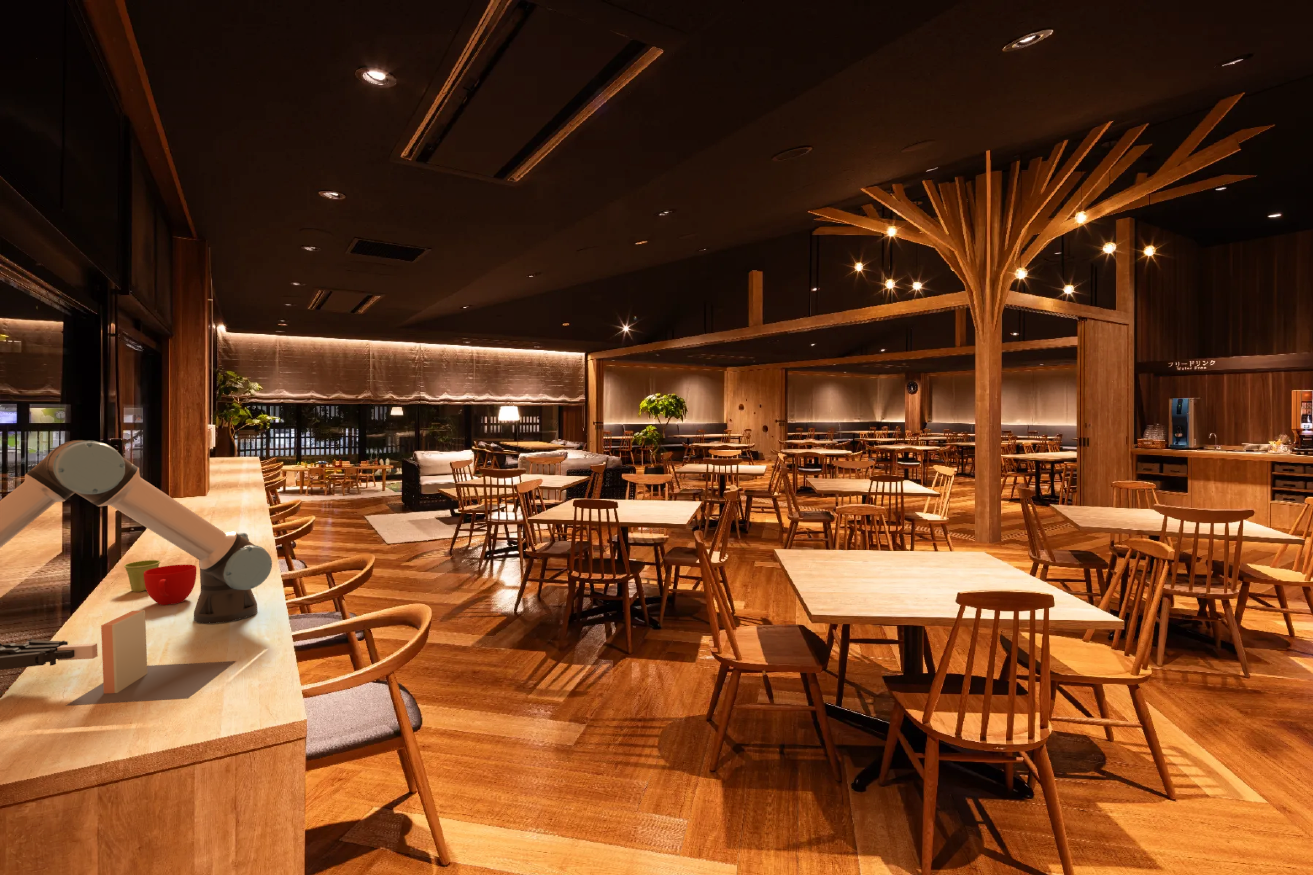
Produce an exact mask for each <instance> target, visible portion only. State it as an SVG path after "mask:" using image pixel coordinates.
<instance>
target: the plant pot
mask: <svg viewBox="0 0 1313 875" xmlns="http://www.w3.org/2000/svg"><path fill="white" fill-rule="evenodd" d="M160 563H161V560H158V559H149V560H137V561H132V562H129V563H125V564H124V565H123V567H124V568H125V570H126V573H127V577H128V580H129V585H130V589H131V591H132V592H134V593H141V592H143V591H147V590H146V587H145V582H144V572H145V571H147V570H149V569H153V568H157V567H160Z"/></svg>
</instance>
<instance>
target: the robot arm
mask: <svg viewBox="0 0 1313 875" xmlns="http://www.w3.org/2000/svg"><path fill="white" fill-rule="evenodd" d="M140 474H141V473H140V467H139V466H137V465H135V464H133V463H132V462H131V461H129V460H128V459H127V458H124V457H123V456H122V455H121V453H119V452H118V450H117V449H115V448H114V447H112V446H111V445H109V444H107V443H104V442H100V441H96V440H83V439H76V440H71V441H66V442H64V443H61V444H60V445H57V447H55V448H54V449H52V451H50V452H49V453H48V454H47V455H46V456H45V457H44V458H43V459H42V460H41V461H40V462H39V463H37V465H35V466H34V467H33V468H32V469H30V470H29V471H28V472H27V473H26V474H25V475H24V481H23V482H22V483H21V484H20V485H18V486H17V487H15V488H14V490H12V491H10V492H9V493H8V494H7V495H6V496H4V497H3V498H2V499H0V549H1V548H3V546H5V545H6V544H7V543H8V542H10V541H11V540H12V539H13V538H15V536H17V535H18V534H19V533H20V532H22V531H23V530H24V529H25V528H27V527H28V526H29V525H30V524H31V523H33V522H34V521H35V520H36V519H38V517H40V516H41V515H42V514H44V513H45V512H46V511H47V510H48V509H49V508H51V507H52V506H53V505H54V504H56V503H58V502H65V501H67V500H68V499H69V498H70V497H71V496H73V495H74V494H76V495H78V496H80V497H82V498H84V499H85V500H87V501H88V502H90V503H91V504H93V505H95V506H96V507H106V506H110V507H112V508H114V509H115V510H117V511H119V512H121V513H122V514H124V515H125V516H126V517H129V518H130V519H132V520H133V521H134V522H136V523H138V524H140V525H141V526H143V527H145V528H146V529H149V531H151V532H153V533H155V535H158V536H159V537H161V538H163V539H164V540H165V541H167V542H169V543H171V544H172V545H174V546H176V547H178V548H179V549H181V550H183V551H184V552H186V553H187V554H189V555H190V556H192V557H193V558H196V559H197V560H198V566H199V579H200V580H199V582H200V593H199V596H198V598H197V602H196V605H195V607H194V610H193V621H194V622H195V623H198V624H222V623H223V624H224V623H229V622H236V621H240V620H243V619H246V618H249V617H251V616H254V615H255V614H257V613H258V602H257V600H256V597H255V595H254V593H253V590H252V589H254V588H256V587H258V586H260V585H262V584H263V583H264V582H265V581H266V580H267V579H268V578H269V575H270V574H271V571H272V569H273V567H272V566H273V560H272V556H271V555H270V553H269V552H268V551H267V550H266V549H265V548H264V547H262V546H259V545H256V544H254V543H253V542H251V541H250V539H249V535H248V534H247V533H245V532H236V531H233V530H232V531H226V532H225V531H222V530H221V529H220V528H218V527H216V526H215V525H213V524H212V523H211V522H209V521H208V520H206V519H204V518H203V517H201V516H200V515H199V514H197V513H196V512H194V511H192V510H191V509H190V508H188V507H186V506H185V505H183V504H182V503H180V502H179V501H177V500H176V499H174V498H172V497H171V496H169V495H168V494H167V493H165V492H164V491H162V490H161V489H159V488H158V487H155V485H153V484H151V483H150V482H148V481H147V480H145V479H144V478H142V477H141V475H140ZM96 657H98V643H80V644H79V643H77V644H74V643H73V644H69V641H66V640H62V641H61V640H37V639H34V638H29V639H26V641H25V643H15V642H8V643H3V644H2V643H0V671H3V670H11V669H12V670H13V669H21V668H30V667H39V666H45V665H46V664H47V663H49V666H55V665H56V664H57V661H74V660H76V661H77V660H91V659H92V660H93V659H95V658H96Z"/></svg>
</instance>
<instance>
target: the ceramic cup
mask: <svg viewBox="0 0 1313 875" xmlns="http://www.w3.org/2000/svg"><path fill="white" fill-rule="evenodd" d="M196 579H197V566H196V565H194V564H171V565H164V566H163V565H162V566H159V567H157V568H153V569H149V570H147V571H145V572H144V582H145V587H146V590H145V591H146V592H147V594H148V596H149V598H151V600H153V601H154V602H155V603H156V604H157V605H159V604H161V606H168V604H170V605H176V604H180V603H183V602H185V601H186V599H187V598H188V597H189V596H190V595H191V593H192V592H193V590H194V587H195V585H196Z"/></svg>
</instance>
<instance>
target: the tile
mask: <svg viewBox="0 0 1313 875" xmlns="http://www.w3.org/2000/svg"><path fill="white" fill-rule="evenodd" d="M146 623H147V622H146V610H131V611H129V612H127V613H125V614H122V615H121V616H119V617H116V618H114V619H112V620H110V621H107V622H105V623H104V624H102V625H101V626H100V629H101V632H100V633H101V654H102V656H101V657H102V678H103V680H102V681H103V682H102V683H103V686H104V694H105V693H118V692H119V691H121V690H123V689H124V688H126V687H127V686H129V685H130V684H132V683H134V682H135V681H137V680H138V679H140V678H141V677H143V676H144V675H146V674H147V666H148V656H147V655H148V654H147V653H148V652H147V629H146V626H147V625H146Z"/></svg>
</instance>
